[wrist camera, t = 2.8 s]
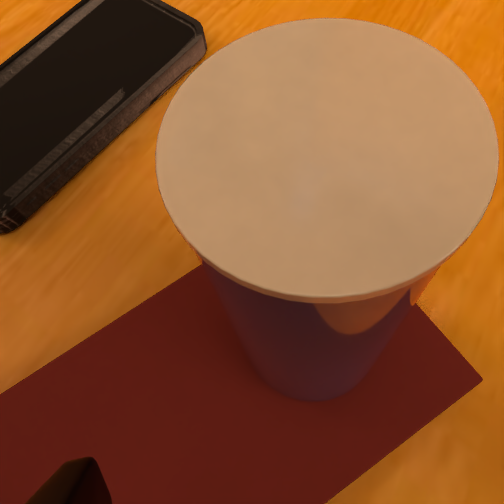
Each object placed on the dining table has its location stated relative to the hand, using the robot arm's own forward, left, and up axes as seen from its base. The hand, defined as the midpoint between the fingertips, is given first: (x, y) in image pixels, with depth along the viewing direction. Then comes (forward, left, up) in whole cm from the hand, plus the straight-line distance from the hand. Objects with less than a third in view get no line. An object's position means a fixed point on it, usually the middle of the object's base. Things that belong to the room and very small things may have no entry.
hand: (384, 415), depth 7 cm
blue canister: (+4, +2, -10) cm, 11 cm away
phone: (+14, +16, -11) cm, 24 cm away
